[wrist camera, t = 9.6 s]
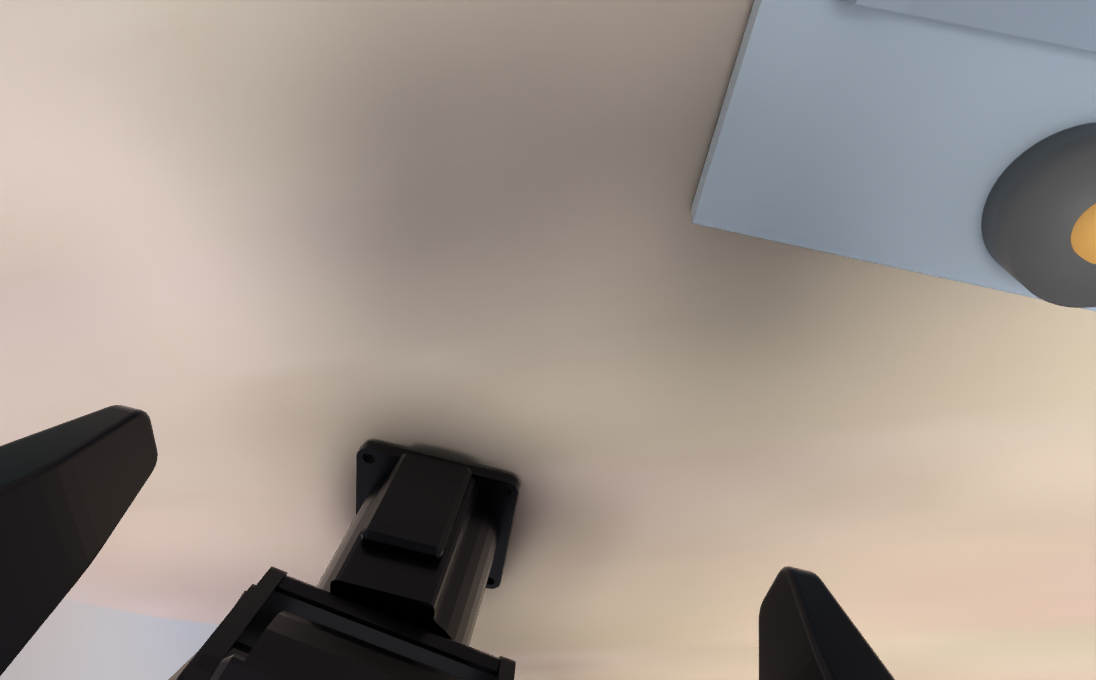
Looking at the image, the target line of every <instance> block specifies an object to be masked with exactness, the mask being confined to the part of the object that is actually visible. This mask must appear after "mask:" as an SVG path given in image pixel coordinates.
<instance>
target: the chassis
mask: <svg viewBox="0 0 1096 680" xmlns="http://www.w3.org/2000/svg"><path fill="white" fill-rule="evenodd" d="M691 214H692V223H694V224H698V225H703V226H707V227H712V228H716V229H721V230H726V231H730V232H735V233H739V234H744V235H749V236H753V237H758V238H762V239H767V240H771V241H776V242H781V243H785V244H790V245H794V246H799V247H803V248H808V249H813V250H817V251H822V252H826V253H831V254H835V255H840V256H845V257H849V258H854V259H858V260H863V261H867V262H872V263H877V264H881V265H886V266H890V267H895V268H900V269H904V270H909V271H913V272H918V273H922V274H927V275H932V276H936V277H941V278H945V279H950V280H954V281H959V282H964V283H968V284H973V285H977V286H982V287H986V288H991V289H996V290H1000V291H1005V292H1009V293H1014V294H1018V295H1023V296H1028V297H1032V298H1037V299H1041V300H1045V301H1047V302H1049V303H1053V304H1056V305H1060V306H1066V307H1075V308H1083V309H1087V310H1092V311H1096V0H754V3H753V6H752V10H751V13H750V16H749V20H748V23H747V26H746V29H745V33H744V36H743V39H742V43H741V46H740V49H739V52H738V56H737V59H736V62H735V66H734V69H733V72H732V75H731V79H730V82H729V85H728V89H727V92H726V95H725V98H724V102H723V105H722V108H721V112H720V115H719V118H718V121H717V125H716V128H715V131H714V135H713V138H712V141H711V144H710V148H709V151H708V154H707V158H706V161H705V164H704V168H703V171H702V174H701V177H700V181H699V184H698V187H697V191H696V194H695V197H694V200H693V204H692V207H691Z"/></svg>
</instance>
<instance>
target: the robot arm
mask: <svg viewBox="0 0 1096 680" xmlns="http://www.w3.org/2000/svg"><path fill="white" fill-rule="evenodd" d="M369 454H371V455H373V456H374V457H373V456H370V455H369ZM157 456H158V453H157V448H156V443H155V439H154V434H153V429H152V425H151V420H150V417H149V416H148V414H147V413H146V412H144V411H142V410H139V409H135V408H131V407H126V406H122V405H114V406H110V407H107V408H104V409H101V410H99V411H96V412H93V413H90V414H88V415H85V416H82V417H79V418H77V419H74V420H71V421H68V422H66V423H63V424H60V425H57V426H55V427H52V428H49V429H46V430H44V431H41V432H38V433H35V434H32V435H30V436H27V437H24V438H21V439H19V440H16V441H13V442H10V443H8V444H5V445H2V446H0V676H1V674H2V673H3V672H4V671H5V670H6V668H7V667H8V666H9V665H10V663H11V662H12V661H13V659H14V658H15V657H16V656H17V655H18V654H19V652H20V651H21V650H22V649H23V647H24V646H25V645H26V644H27V642H28V641H29V640H30V639H31V638H32V636H33V635H34V634H35V633H36V631H37V630H38V629H39V627H40V626H41V625H42V624H43V623H44V622H45V620H46V619H47V618H48V617H49V615H50V614H51V613H52V612H53V610H54V609H55V608H56V607H57V606H58V604H59V603H60V602H61V601H62V599H63V598H64V597H65V596H66V594H67V593H68V592H69V591H70V590H71V588H72V587H73V586H74V585H75V583H76V582H77V581H78V580H79V578H80V577H81V576H82V574H83V573H84V572H85V571H86V569H87V568H88V567H89V565H90V564H91V563H92V561H93V560H94V558H95V557H96V556H97V554H98V553H99V551H100V550H101V548H102V547H103V545H104V544H105V542H106V541H107V539H108V538H109V536H110V535H111V533H112V532H113V530H114V529H115V527H116V526H117V524H118V523H119V521H120V520H121V518H122V517H123V515H124V514H125V512H126V511H127V509H128V508H129V506H130V505H131V503H132V502H133V500H134V499H135V497H136V496H137V494H138V493H139V491H140V490H141V488H142V487H143V485H144V484H145V482H146V481H147V479H148V478H149V476H150V475H151V473H152V471H153V470H154V467H155V465H156V462H157ZM504 487H508V488H510V489H506V488H504ZM519 490H520V483H519V481H518V480H517V479H516V478H515V477H513V476H510V475H507V474H503V473H499V472H495V471H490V470H486V469H482V468H478V467H474V466H470V465H465V464H461V463H457V462H453V461H449V460H445V459H440V458H436V457H432V456H428V455H424V454H420V453H415V452H411V451H407V450H403V449H399V448H395V447H390V446H386V445H382V444H378V443H374V442H367V443H364V444H363V445H362V446H361V448H360V449H359V451H358V453H357V477H356V517H355V519H354V521H353V522H352V524H351V526H350V528H349V530H348V531H347V533H346V535H345V537H344V539H343V540H342V542H341V544H340V546H339V548H338V549H337V551H336V553H335V555H334V557H333V558H332V560H331V562H330V564H329V566H328V567H327V569H326V571H325V573H324V575H323V576H322V578H321V580H320V582H319V584H318V585H317V587H315V586H312V585H310V584H307V583H305V582H302V581H300V580H297V579H294V578H292V577H289V576H287V572H285V571H282V570H280V569H277V568H274V567H271V568H270V569H269V570H268V571H267V573H266V574H265V575H264V576H263V578H262V579H261V580H260V581H259V583H258V584H257V585H254V584H252V585H251V587H250V588H249V589H248V590H247V591H244V593H243V594H242V596H241V597H240V599H239V600H238V602H237V603H236V605H235V606H234V608H233V609H232V610H231V611H230V613H229V614H228V615H227V616H226V618H225V619H224V620H223V621H222V623H221V624H220V625H219V626H218V627H217V629H216V630H215V631H214V632H213V634H212V635H211V636H210V638H209V639H208V640H207V641H206V642H205V644H204V645H203V646H202V647H201V649H200V650H199V651H198V652H197V653H196V654H195V655H194V656H193V657H192V658H191V659H190V660H188V662H186V663H185V664H184V665H183V666H182V667H181V668H180V669H179V670H178V671H177V672H176V673H175V674H174V675H173V676H172V677H171V678H170V679H169V680H514V674H515V664H516V662H515V661H513V660H510V659H508V658H505V657H503V656H500V657H499V658H497V657H495V656H492V655H490V654H487V653H484V652H482V651H479V650H477V649H474V648H472V647H469V643H470V640H471V636H472V633H473V629H474V626H475V622H476V619H477V615H478V611H479V608H480V604H481V601H482V597H483V594H484V590H485V588H490V589H493V588H497V587H498V586H499V585H500V582H501V578H502V574H503V569H504V564H505V559H506V554H507V549H508V544H509V539H510V534H511V529H512V524H513V520H514V515H515V510H516V505H517V500H518V495H519ZM759 680H895V679H894V678H893V676H892V675H891V674H890V672H889V671H888V670H887V668H886V667H885V666H884V664H883V663H882V661H881V660H880V659H879V657H878V656H877V655H876V653H875V652H874V651H873V649H872V648H871V647H870V645H869V644H868V643H867V641H866V640H865V638H864V637H863V636H862V634H861V633H860V632H859V630H858V629H857V628H856V626H855V625H854V624H853V622H852V621H851V619H850V618H849V617H848V615H847V614H846V613H845V611H844V610H843V609H842V607H841V606H840V605H839V603H838V602H837V601H836V599H835V598H834V596H833V595H832V594H831V592H830V591H829V590H828V588H827V587H826V586H825V584H824V583H823V582H822V580H821V579H820V578H819V577H818V576H817V575H816V574H815V573H813V572H810V571H806V570H802V569H798V568H793V567H784V568H782V569H781V570H780V572H779V573H778V575H777V577H776V579H775V580H774V582H773V584H772V586H771V587H770V589H769V591H768V593H767V595H766V596H765V598H764V600H763V602H762V604H761V607H760V612H759Z"/></svg>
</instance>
